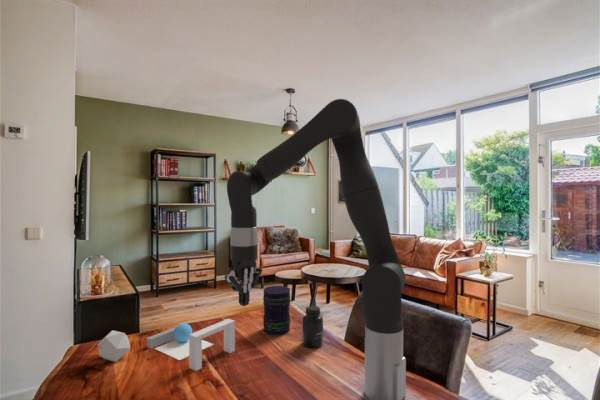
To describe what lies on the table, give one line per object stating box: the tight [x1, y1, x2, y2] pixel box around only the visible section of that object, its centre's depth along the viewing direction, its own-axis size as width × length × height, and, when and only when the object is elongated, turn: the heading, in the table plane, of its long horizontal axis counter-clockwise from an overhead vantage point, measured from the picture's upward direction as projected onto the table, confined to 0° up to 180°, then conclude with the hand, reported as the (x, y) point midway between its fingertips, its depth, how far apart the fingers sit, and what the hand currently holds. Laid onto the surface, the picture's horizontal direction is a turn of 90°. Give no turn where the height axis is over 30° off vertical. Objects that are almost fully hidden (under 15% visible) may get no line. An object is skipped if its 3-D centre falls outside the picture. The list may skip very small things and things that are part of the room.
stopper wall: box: [146, 326, 177, 349], centre depth 116 cm, size 2×14×3 cm, turn 145°
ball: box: [174, 322, 193, 342], centre depth 115 cm, size 6×6×6 cm
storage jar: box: [262, 285, 291, 337], centre depth 124 cm, size 10×10×15 cm
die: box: [97, 330, 131, 363], centre depth 103 cm, size 8×9×10 cm
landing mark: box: [154, 339, 214, 361], centre depth 111 cm, size 13×13×1 cm
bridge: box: [188, 318, 236, 372], centre depth 103 cm, size 3×15×10 cm, turn 145°
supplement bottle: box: [302, 305, 324, 349], centre depth 113 cm, size 7×7×12 cm
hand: (244, 304), depth 95 cm, fingers closed
